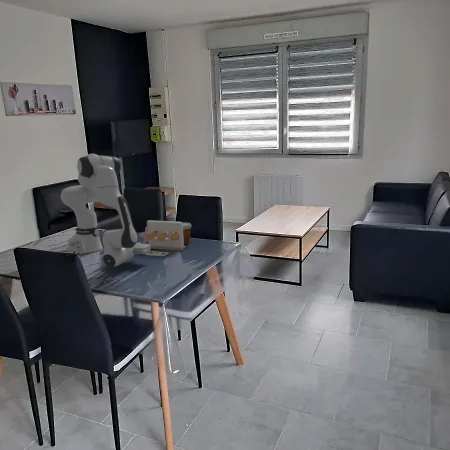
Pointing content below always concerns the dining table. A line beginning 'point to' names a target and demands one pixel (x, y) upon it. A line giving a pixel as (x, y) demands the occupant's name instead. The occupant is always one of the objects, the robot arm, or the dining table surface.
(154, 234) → the button left
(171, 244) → the panel
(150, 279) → the dining table surface
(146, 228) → the lily
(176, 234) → the button right
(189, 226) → the disposable coffee cup
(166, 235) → the button middle
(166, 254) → the card
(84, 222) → the robot arm
